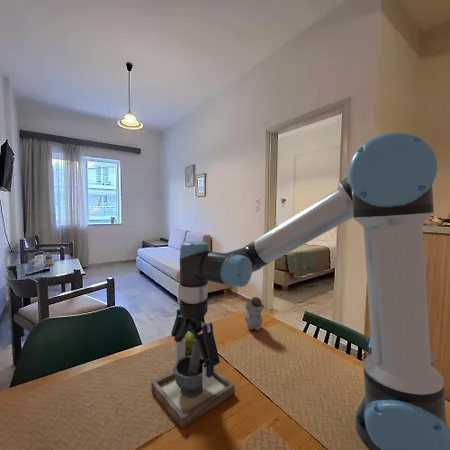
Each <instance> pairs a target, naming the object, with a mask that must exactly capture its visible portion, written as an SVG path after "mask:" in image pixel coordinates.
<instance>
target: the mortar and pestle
mask: <svg viewBox="0 0 450 450" xmlns="http://www.w3.org/2000/svg"><path fill="white" fill-rule="evenodd" d="M193 343H194V346H193V350H192V353H191V354H190V355H187V356H186V355H185V357H184V358H182V359H179V360H178V361H177V363H176V362H175V364H174V365H173V371H174V376H175V380H176V383H177V385H178V386H179V387H180V388H181V393H182V395H183V396H185V397H187V398H195V397H197V396H199V395H200V394H201V393H202V391H203V388H202V381H203V364H204V363H205V362H204V359H203V356H202V354H201V351H200V348H199V345H198V342H197V340H196V339H195V340H194V341H193Z"/></svg>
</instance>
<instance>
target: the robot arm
mask: <svg viewBox="0 0 450 450" xmlns="http://www.w3.org/2000/svg"><path fill="white" fill-rule="evenodd" d="M437 160H438V159H437V156H436V154H435V151H434V149H433V148H432V147H431V145H430V144H429V143H428V142H426V140H424V139H422V138H421V137H419V136H416V135H414V134H411V133H406V132H400V131H398V132H387V133H384V134H380V135H378V136H375V137H372V138H370V140H367V141H366V142H364V144H362V145H361V146H360V147H359V148H358V149H357V150H356V152H355V153H354V154H353V156H352V158H351V160H350V162H349V167H348V169H347V177H345V178H344V179H343V180H341V181H340V182H338V185H337V188H336V189H335V190H333V191H332V192H330V193H329V194H327V195H326V196H324V197H322V198H321V199H319V200H317V201H316V202H314V203H313V204H311V205H309V206H308V207H307V208H305V209H303V210H302V211H300V212H298V213H297V214H295V215H293V216H292V217H290V218H289V219H287V220H286V221H284V222H283V223H281V224H279V225H278V226H275V227H274V228H273V229H271V230H269V231H268V232H266V233H265V234H262V235H261V236H260V237H258V238H256V239H255V240H254V241H252V242H250V243H248V244H247V245H245V246H244V247H242V248H239V249H235V250H231V251H228V252H218V251H217V252H216V251H210V249H209V244H208V242H206V241H202V240H201V241H200V240H194V241H193V240H191V241H190V240H189V241H184V242H183V243H181V245H180V251H179V308H178V309H177V310H176V317H175V319H174V320H175V321H174V323H173V326H172V328H171V329H172V330H171V333H170V334H171V337H174V341H175V364H176V363H177V361H178V360H179V359H182V358H184V357H186V354H185V340H184V339H183V338H185V335H186V334H187V332H188V331H189V332H191V333H192V334H193V336H194V339H196V340H197V342H198V345H199V348H200V351H201V357H203V359H204V362H205V363H204V364H203V381H202V388H203V389H204V390H205V389H206V388H208V387H210V386H212V384H213V374H214V369H215V366H217V365H219V364H220V363H221V361H220V355H219V353H218V347H217V345H216V339H215V335H214V326H213V323H212V322H209V323H207V322H206V320H205V316H206V315H207V313H208V308H209V307H208V304H209V303H208V289H209V288H208V285H209V284H208V283H209V282H211V283H216V284H221V285H226V286H228V287H238V288H243V287H246V286H247V285H248V284H249V281H251V278H252V274H253V273H254V272H257V271H259V270H261V269H262V268H263V267H265V266H267V265H269V264H270V263H272V262H274V261H276V260H277V259H279V258H281V257H284V256H286V255H287V254H288V253H291V252H293V251H295V250H296V249H297V248H299V247H302V246H303V245H306V244H307V243H309V242H311V241H313V240H314V239H316V238H318V237H320V236H322V235H324V234H325V233H327V232H330V231H331V230H333V229H334V228H337V227H339V226H340V225H341V224H344V223H345V222H347V221H349V220H351V219H352V218H353V220H355V221H356V222H357V223H358V224H359V225H360V226H361V227H362V229H363V239H364V255H365V270H366V283H367V285H366V286H367V300H368V302H367V303H368V313H369V315H368V317H369V329H370V338H369V343H368V345H367V347H368V355H367V356H366V357H365V358H364V359H363V362H362V363H363V380H364V394H365V395H364V396H363V398H362V401H361V403H360V404H359V406H358V407H357V410H356V412H355V422H354V423H355V425H354V426H355V429H356V432H357V435H358V437H359V438H360V439H361V441H362V442H363V443H364V445H365V446H366V445H367V446H368V447H369V448H370V449H371V450H450V428H449V424H448V419H447V409H446V397H445V396H446V395H445V381H444V380H445V379H444V377H443V376H442V374H441V373H440V372H439V371H438V370H437V369H436V368H435V367H434V364H435V363H434V356H433V353H432V351H431V346H430V345H431V341H430V328H429V327H430V325H429V309H428V308H429V307H428V295H427V294H428V293H427V291H428V290H427V279H426V277H427V276H426V262H425V261H426V259H425V244H424V228H423V227H424V224H425V223H426V222H427V221H428V220H429V219H430V218H431V217H432V216H434V214H435V213H434V211H435V210H434V194H433V184H434V182H435V179H436V177H437V173H438V162H437ZM198 333H199V335H198ZM182 339H183V340H182ZM367 446H366V447H367ZM368 447H367V448H368ZM369 448H368V449H369ZM370 449H369V450H370Z"/></svg>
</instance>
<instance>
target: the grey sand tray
mask: <svg viewBox="0 0 450 450" xmlns="http://www.w3.org/2000/svg"><path fill="white" fill-rule="evenodd" d="M150 385H151V392H152V393H153V395H154V396H155V397H156V398H157V399H158V401H160V403H161V404H162V406H163V408H165V409H166V411H167V413H168V414H169V415H170V416H171V417H172V419H173V420H174V421H175V422H176V423H177V425H178V426H179V428H180V429H182V430H183V429H185V428H186V427H187V426H189V425H190V424H192V423H194V422H195V421H196V420H198V419H199V418H201V417H202V416H204V415H206V414H207V413H209V412H210V411H212V410H213V409H215V408H216V407H218V406H219V405H220V404H223V403H224V402H225V401H226V400H228V399H229V398H231V397H232V396H235V391H236V385H235V384H234V383H232V382H231V381H230V380H228V379H227V378H226V377H225V376H224V375H222V374H221V373H220V372H219V371H217V370H216V369H215V368H214V374H213V384H212V386H210V387H208V388H206V389H205V390H204V389H203V391H202V393H201V394H200V395H199V396H197V397H195V398H187V397H185V396H183V395H182V393H181V388H180V387H179V386H178V385H177V383H176V380H175V376H174V370H173V371H170V372H169V373H167V374H165V375H163V376H161V377H158V378H156V379H154V380H152V381H151V384H150Z"/></svg>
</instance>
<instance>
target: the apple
mask: <svg viewBox="0 0 450 450" xmlns="http://www.w3.org/2000/svg"><path fill="white" fill-rule="evenodd" d="M199 334H200V333H198V335H199ZM183 339H184V340H185V355H192V350H193V346H194V343H193V341H194V340H195V339H194V336H193V334H192V333H191V332H189V331H188V332H187V334H186V335H185V338H183ZM183 339H182V340H183Z"/></svg>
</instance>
